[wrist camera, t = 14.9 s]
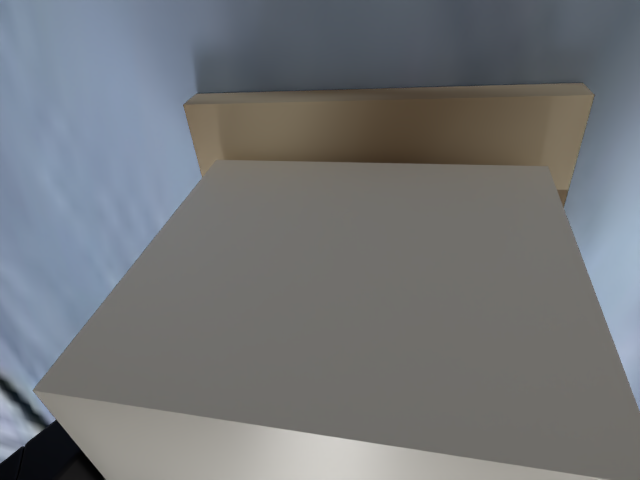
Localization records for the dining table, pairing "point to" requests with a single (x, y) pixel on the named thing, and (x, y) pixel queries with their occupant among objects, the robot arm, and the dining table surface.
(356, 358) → the matte white cube
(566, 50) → the dining table surface
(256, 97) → the board
